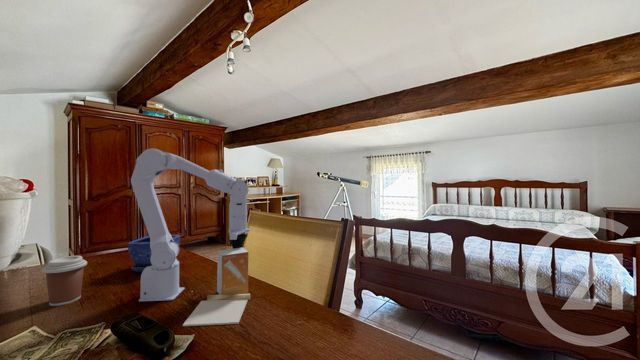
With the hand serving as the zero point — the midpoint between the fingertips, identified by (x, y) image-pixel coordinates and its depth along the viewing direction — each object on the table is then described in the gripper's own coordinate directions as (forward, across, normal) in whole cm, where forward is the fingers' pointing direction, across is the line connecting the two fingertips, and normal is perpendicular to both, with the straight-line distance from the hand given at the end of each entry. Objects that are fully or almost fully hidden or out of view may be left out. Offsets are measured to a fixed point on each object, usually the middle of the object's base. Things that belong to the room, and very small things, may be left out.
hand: (237, 256), depth 85 cm
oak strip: (+9, -11, 0) cm, 15 cm away
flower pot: (+10, +19, +36) cm, 42 cm away
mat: (+9, -18, +1) cm, 20 cm away
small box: (+10, -6, 0) cm, 11 cm away
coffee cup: (+10, -7, +47) cm, 49 cm away
